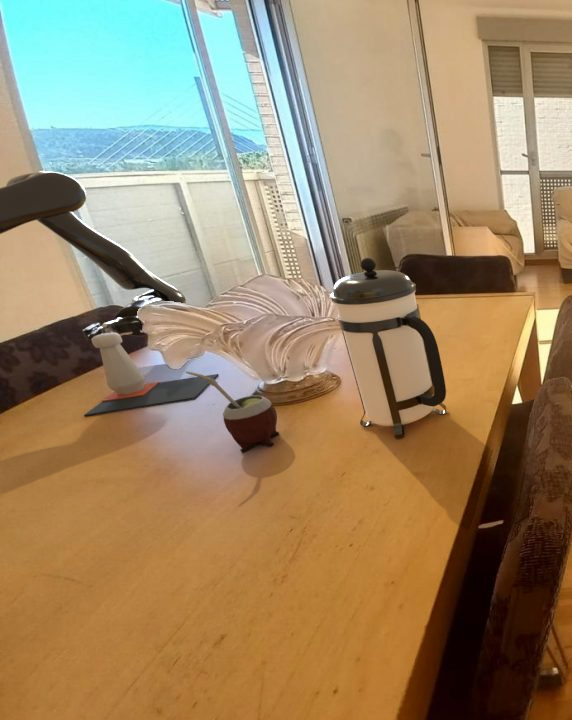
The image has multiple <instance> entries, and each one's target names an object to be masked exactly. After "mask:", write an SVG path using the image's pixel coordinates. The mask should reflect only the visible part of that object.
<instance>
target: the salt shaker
mask: <svg viewBox="0 0 572 720" xmlns="http://www.w3.org/2000/svg"><path fill="white" fill-rule="evenodd" d="M91 340H92V342H91V344H92V345H93V347H94V348H95V349H99V351H100V357H101V360H102V365H103V371H104V373H105V379H106V383H107V387H108V388H109V389H110V390H112V392H114V391H115V392H116V393H117V394H119V395H127V394H131V393H134V392H138V391H140V390H142V389H143V388H144V387H145V384H146V376H145V375H144V374H143V372H142V371H141V370H140V368H139V367H138V365H137V364H136V363H135V362H134V360H133V359H132V358H131V357H130V355H129V354H128V352H127V351H126V350H125V349H124V347H123V346H122V345H121V344H122V343H123V338H122V336H120V335H119V334H118V333H117V332H114V333H106V332H104V334H99V335H97V336H94V337H93V338H92V339H91Z"/></svg>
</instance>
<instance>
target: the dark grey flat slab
mask: <svg viewBox="0 0 572 720" xmlns="http://www.w3.org/2000/svg"><path fill="white" fill-rule="evenodd" d="M218 375H219V373H215V374H208V375H206V376H207V377H209V378H211V379H215V378H216V377H217V376H218ZM218 377H219V376H218ZM218 377H217V378H218ZM217 378H216V379H217ZM216 379H215V380H216ZM209 384H210V383H209V381H207V380H205V379H203V378H200V377H197V376H194V377H187V378H181V379H173V380H168V381H161V382H160V381H154V382H147V383H145V387H144V388H143V389H142V390H140V391H138V392H134V393H131V394H127V395H119V394H117V393H116V392H115V391H112V392H111V393H110V394H108V395H107V396H106V397H105V398H103V399H102V400H101V402H100V403H98V404H97V405H95V406H94V407H92V409H90V410H88V411H87V412H86V413H84V414H83V416H84V417H90V416H91V417H92V416H97V415H104V414H109V413H115V412H121V411H122V412H123V411H128V410H134V409H140V408H141V409H142V408H147V407H155V406H160V405H166V404H167V405H168V404H172V403H179V402H185V401H191V400H196V399H197V398H198V397H199V396H200V395H201V394H202V393H203V392H204V391H205V390H206V389H207V388H208V387H209V386H210V385H211V384H210V385H209ZM208 385H209V386H208ZM207 386H208V387H207ZM205 388H206V389H205Z"/></svg>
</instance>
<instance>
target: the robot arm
mask: <svg viewBox="0 0 572 720" xmlns="http://www.w3.org/2000/svg"><path fill="white" fill-rule="evenodd" d="M86 201H87V193H86V190H85V187H84V186H83V185H82V184H81V183H80V182H79V181H77V180H76V179H75V178H74V177H71V176H70V175H67V174H64V173H61V172H57V171H49V170H48V171H47V170H46V171H45V170H41V171H35V172H30V173H25V174H19V175H16V176H14V177H13V176H12V177H11V178H10V179H9V180H7V182H6V185H5V186H2V187H0V235H2V234H4V233H7V232H10V231H11V230H13V229H16V228H19V227H20V226H22V225H25V224H27V223H32V222H34V221H37V222H38V223H40V224H42V225H43V226H44V227H46V228H47V229H49V231H51V232H53V233H54V234H56V235H57V236H58V237H60V238H61V239H62V240H63V241H65V242H67V243H68V244H69V245H71V246H72V247H73V248H75V249H76V250H77V251H79V252H80V253H81V254H83V255H84V256H85V257H87V258H88V259H89V260H90V261H92V263H94V264H95V265H96V266H97V267H98V268H100V269H101V270H102V271H103V272H104V274H106V275H107V276H108V277H109V278H110V279H112V280H113V281H114V282H115V283H116V284H117V285H118V286H119V287H121V288H122V290H123V289H124V290H126V291H133V290H138V289H149V291H147V292H144V293H142V294H139V295H137V296H135V297H134V298H132V300H131V302H130V303H128V304H127V305H125V306H124V307H123V308H121V309H119V310H118V311H117V312H116V314H115V316H114V320H110V321H107V322H104V323H102V324H101V323H100V322H94V323H92V324H90V325H89V326H87V327H85V328H83V329H81V331H82V333H83V335H84V338H85V339H86V341H87V342H90V343H92V340H91V339H92V338H93V337H94V336H97V335H99V334H104V333H118V334H119V335H120V336H121V337H122V336H125V335H127V336H128V335H129V336H132V337H147V335H146V334H144V333H143V331H142V324H141V321H140V320H139V318H138V316H137V311H138V309H139V308H141V307H142V306H144V305H146V304H149V303H152V302H155V301H174V302H181V303H186V304H187V300H186V297H185V295H184V294H183V292H182V291H180V290H179V289H177V288H176V287H174V286H173V285H171V284H170V283H168V282H166V281H164V280H163V279H161V278H160V277H159V276H156V275H155V274H154V273H152V272H151V271H150V270H148V269H147V267H145V266H144V265H143V264H142V263H141V262H140V261H139V260H138V259H137V258H136V257H135V256H134V255H133V254H132V253H131V252H130V251H128V250H127V249H125V248H124V247H122V246H121V245H120V244H119V243H116V242H115V241H113V240H111V239H110V238H107V236H105V235H102V234H101V233H100V232H97V231H96V230H94V229H93V228H92V227H90V226H88V225H87V224H86V223H84V222H83V221H82V220H81V219H80V218H78V216H77V215H76V214H74V212H76V211H78V210H80V209H81V208H82V207H83V206H84V205H85V203H86Z"/></svg>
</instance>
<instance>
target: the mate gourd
mask: <svg viewBox="0 0 572 720" xmlns="http://www.w3.org/2000/svg"><path fill="white" fill-rule="evenodd" d="M185 373H186V374H188V375H191V376H194V377H200V378H203V379H205V380H207V381H209V383H210V385H211V386H212V387H214V388H216V390H217V391H218V392H219V393H220V394H221V395H223V396H224V397H225V399H226V400H228V401H229V403H227V405H226V406H225V408H224V410H223V412H222V417H223V423H224V425H225V428H226V430H227V431H228V433H229V434H230V435H231V437H232V439H233V440H234V442H236V444H237V445H238V446H239V447H240V449H239V451H240V452H241V453H242V454H243V453H246V452H248V451H250V450H253V449H254V448H256V447H258V446H263V447H267V448H272V447H274V446H275V443H274V442H273V441H272V440H271V439H273V438H275V437H278V436H279V435H280V431H278V430H277V423H278V414H277V410H276V408H275V407H274V405H273V404H272V402H271V401H270V400H269V399H268V398H267V397H265V396H262V395H258V394H257V395H256V394H255V395H249V396H248V395H247V396H243V397H240V398H237V399H234V398H233V397H231V396H230V395H229V393H227V392H226V391H225V390H224V389H223V388H222V387H221V386H220V385H219V383H218V382H217V381H216V379H215V380H214V379H211V378H209V377H207V375H204V374H201V373H197V372H193V371H189V370H186V371H185Z"/></svg>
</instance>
